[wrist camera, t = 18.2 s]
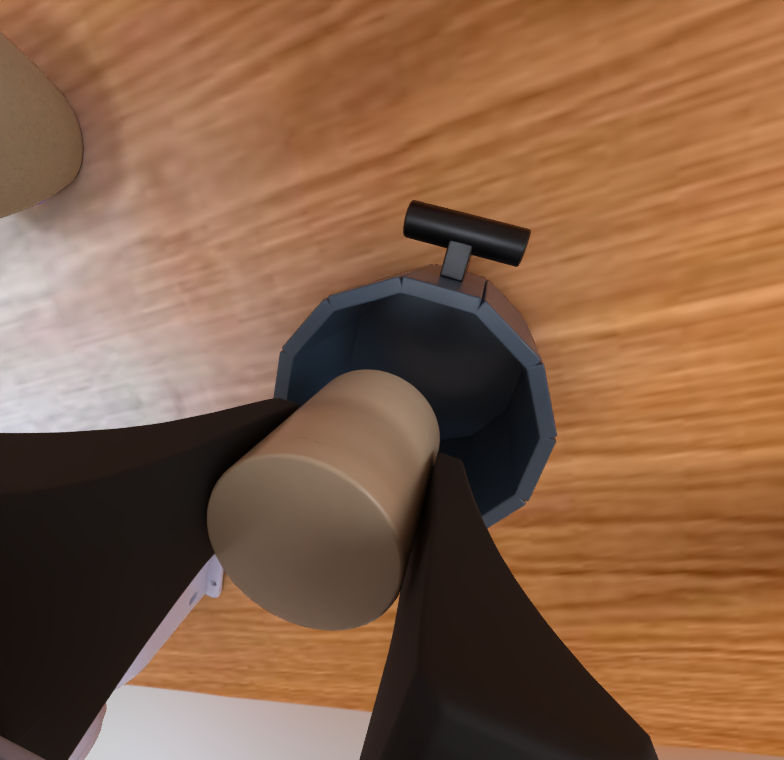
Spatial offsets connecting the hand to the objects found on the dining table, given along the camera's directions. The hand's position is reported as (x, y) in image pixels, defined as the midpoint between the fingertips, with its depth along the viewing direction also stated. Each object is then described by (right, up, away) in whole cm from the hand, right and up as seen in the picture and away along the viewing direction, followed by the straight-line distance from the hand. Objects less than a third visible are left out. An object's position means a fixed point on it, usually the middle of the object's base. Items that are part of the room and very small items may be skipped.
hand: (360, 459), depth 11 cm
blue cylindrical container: (+3, +4, +8) cm, 10 cm away
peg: (0, +1, +1) cm, 1 cm away
